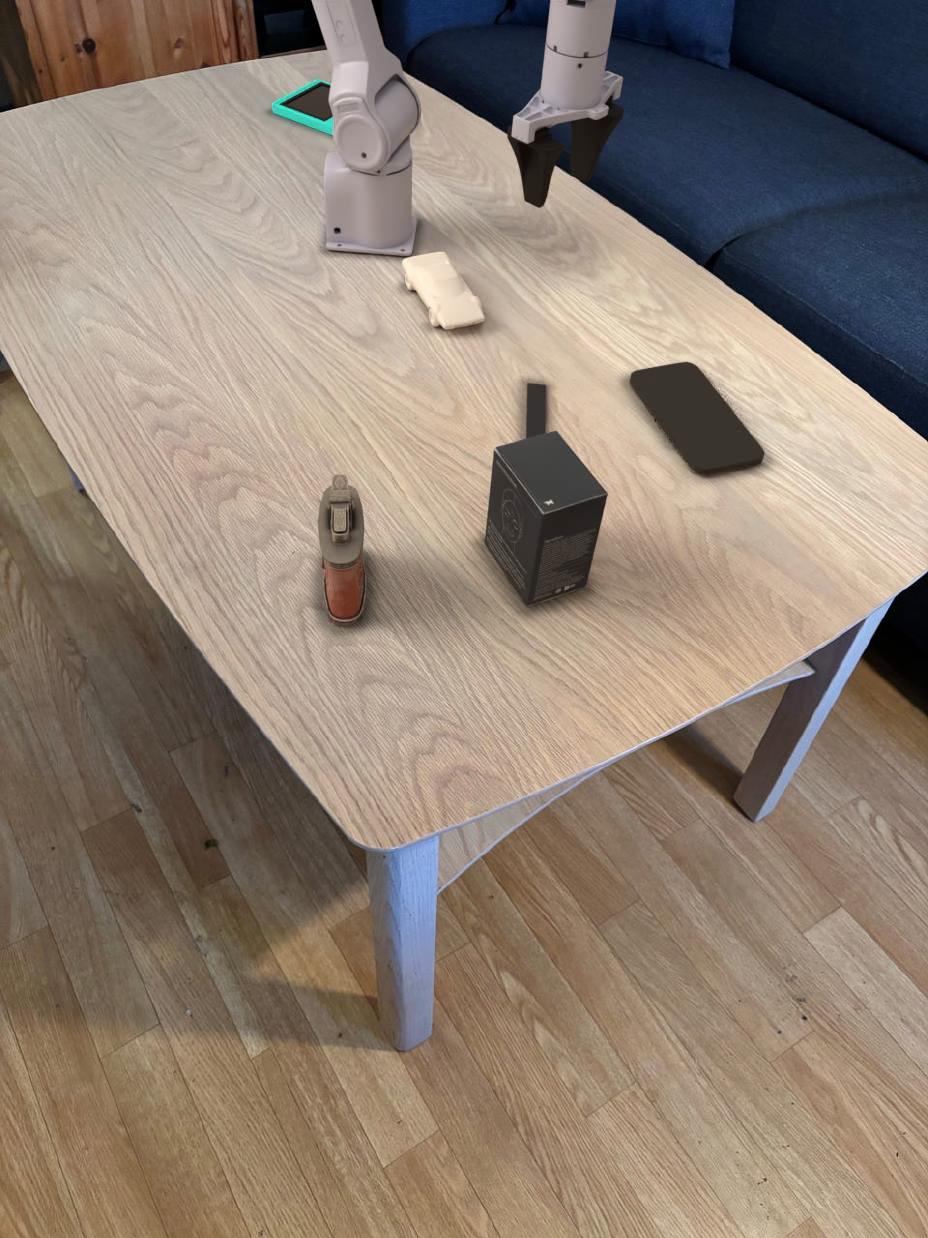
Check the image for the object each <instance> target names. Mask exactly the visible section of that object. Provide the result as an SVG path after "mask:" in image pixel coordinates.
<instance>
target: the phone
mask: <svg viewBox="0 0 928 1238" xmlns="http://www.w3.org/2000/svg"><path fill="white" fill-rule="evenodd" d="M629 383H630V385H631V387H632V388H633V390H634V391H635V392H636V394H637V395H638V396H639V398H640V400H641V401H642V402H643V404H644V405H645V406H646V408H647V409H648V411H649V412H650V414H651V415H652V416H653V419H655V421H656V423H658V425H659V427H661V429H662V431H663V432H664V433H665V435H666V436H667V438H668V439H669V440H670V442H671V443H672V445H673V446H674V447H675V449H676V450H677V451H678V453H679V455H681V457H682V458H683V461H685V463H686V464H687V466H688V467H689V468H690V469H691V470H692V471H693V472H694V473H696V474H697V475H701V476H709V475H716V474H719V473H724V472H728V471H734V470H738V469H742V468H747V467H752V466H756V465H757V466H758V465H759V464H761V463H762V462H763V460H764V457H765V455H766V454H765V450H764V449H763V447H762V445H761V444H760V443H759V442H758V441H757V440H756V438H755V437H754V435H753V434H752V433H751V432H750V431H749V429H748V428H747V427H746V426H745V424H744V423H743V422H742V420H741V419H740V418H739V417H738V415H737V414H736V413H735V411H733V409H732V408H731V407H730V405H729V404H728V403H727V401H726V400H725V399H724V398H723V397H722V395H721V394H720V393H719V391H718V390H717V389H716V388H715V387H714V385H713V384H712V382H711V381H710V380H709V379H708V377H707V376H706V375H705V373H703V371H702V370H701V369H700V367H698V366H697V365H696V364H695V363H693V362H690V361H681V362H675V363H670V364H668V363H667V364H663V365H658V366H652V367H646V368H641V369H636V370H633V371H632V373H631V374H630V378H629Z"/></svg>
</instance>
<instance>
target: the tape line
mask: <svg viewBox="0 0 928 1238" xmlns="http://www.w3.org/2000/svg"><path fill="white" fill-rule="evenodd" d="M546 416H547V385H546V384H545V383H544V384H543V383H531V382H527V384H526V417H525V418H526V419H525V420H526V422H525V423H526V424H525V425H526V426H525V427H526V429H525V439H527V438H530V437H534V436H538V435H541V434H545V433H547V432H546V431H547V417H546Z"/></svg>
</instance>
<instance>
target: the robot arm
mask: <svg viewBox="0 0 928 1238" xmlns="http://www.w3.org/2000/svg"><path fill="white" fill-rule="evenodd" d="M549 1H550V2H549V13H548V21H547V29H546V38H545V44H544V45H545V47H544V55H543V56H544V57H543V64H542V74H541V82H540V88H538V89H539V90H537V92H536V93H535V94H534V95H533V96H532V98H531V99H530V100H529V101H528V103H527V104H526V105H525V107H524V108H522V110H520V111H519V112H518V113H515V114H514V115H513V117H512V124H510V125H509V126H508V127H507V134H506V137H507V140H508V142H509V145H510V146H511V149H512V150H513V153H514V156H515V158H516V162H517V165H518V169H519V174H520V178H521V186H522V195H523V199H524V202H525V203H528V204H529V205H532V206H534V207H535V208H538V209H541V208H542V207H544V206H545V204H546V201H547V199H548V196H549V195H548V194H549V191H550V186H551V180H552V177H553V176H552V175H553V173H554V170H555V167H556V165H557V162H558V159H559V158H560V156H561V154H562V152H563V151H564V150H565V148H566V144H564V143H562V142H560V141H558V140H556V139H554V138H553V134H552V133H550V128H552V127H554V126H556V125H558V124H562V123H568V122H570V130H571V143H570V144H571V145H570V154H569V155H570V157H569V172H570V176H572V177H574V178H576V179H578V180H580V181H583V182H585V183H588V182H589V181H591V178H592V176H593V173H594V171H595V168H596V167H597V165H598V161H599V158H600V157H601V154H602V151H603V150H604V148H605V145H606V143H607V142H608V140H609V138H610V136H611V135H612V133H613V131H614V130H615V129H616V127H617V126H618V125H619V123H620V122H621V121H622V120H623V117H624V113H625V109H624V108H623V107H622V106H621V105H618V104H616V103H614V102H613V101H615V100H616V101H617V99H620V97H621V92H622V86H623V80H624V77H623V76H621V75H619V74H616V73H613V72H611V71H609V70H606V65H607V60H608V55H609V54H608V53H609V49H610V41H611V36H612V29H613V23H614V17H615V11H616V4H617V0H549ZM311 2H312V6H313V10H314V13H315V15H316V19H317V21H318V25H319V28H320V31H321V34H322V37H323V41H324V43H325V46H326V50H327V52H328V55H329V59H330V62H331V65H332V75H331V80H330V81H331V82H330V83H331V87H330V93H329V104H330V107H331V111H332V114H333V132H332V133H333V135H332V141H333V144H334V148H335V150H336V151H329V152H327V153H326V156H325V161H324V167H323V199H324V216H325V219H324V220H325V229H326V230H325V234H326V243H325V248H326V249H327V250H328V251H338V252H352V253H362V254H373V255H374V254H376V255H387V256H398V257H399V256H402V257H411V256H412V255H413V251H414V246H415V245H414V244H415V239H416V238H415V237H416V232H417V226H418V216H416V215H412V211H413V208H412V204H413V201H412V200H413V150H412V149H413V148H412V146H411V134H413V133H414V131H415V130H416V129H417V127H418V126H419V124H420V121H421V117H422V104H421V100H420V97H419V95H418V93H417V91H416V90H415V88H414V87H413V85H412V83H410V82H409V80H408V79H407V77H406V75H405V72H404V71H403V67H402V63H401V61H400V59H399V58H398V57H397V56H396V55H395V54H393V53H392V52H391V51H389V50H388V49H387V48H386V47H385V44H384V40H383V36H382V33H381V30H380V27H379V23H378V19H377V16H376V13H375V9H374V5H373V3H372V0H311Z"/></svg>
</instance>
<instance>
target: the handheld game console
mask: <svg viewBox="0 0 928 1238" xmlns="http://www.w3.org/2000/svg"><path fill="white" fill-rule="evenodd" d="M330 87H331V82H328V81H326V80H323V79H319V78H317V79H315V80H313V81H310V82H309V83H307V84H305V85H303V86H301V87H299V88H298V89H297V88H296V90H293V91H292V92H289V93H287V94H286V95H284V96H282V97H280V98H278V99H276V100H275V101H273V102H272V103H271V108H272V109H271V111H272V113H273V114H275V115H278V116H280V117H283V118H285V119H288V120H290V121H294V122H296V123H299V124H301V125H304V126H307V127H310V128H312V129H314V130H317V131H320V132H323V133H325V134H328V135H329V136H333V133H332V132H333V114H332V111H331V107H330V104H329V93H330Z"/></svg>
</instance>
